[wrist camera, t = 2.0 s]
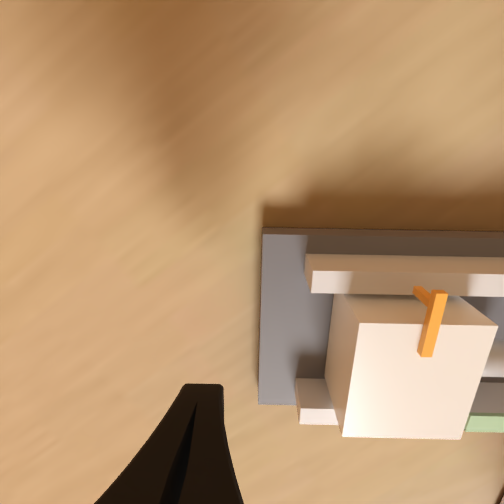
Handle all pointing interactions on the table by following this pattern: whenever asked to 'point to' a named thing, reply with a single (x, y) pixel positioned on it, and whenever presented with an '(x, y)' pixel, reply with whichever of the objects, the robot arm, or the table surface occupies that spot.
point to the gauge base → (364, 282)
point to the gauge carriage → (408, 363)
